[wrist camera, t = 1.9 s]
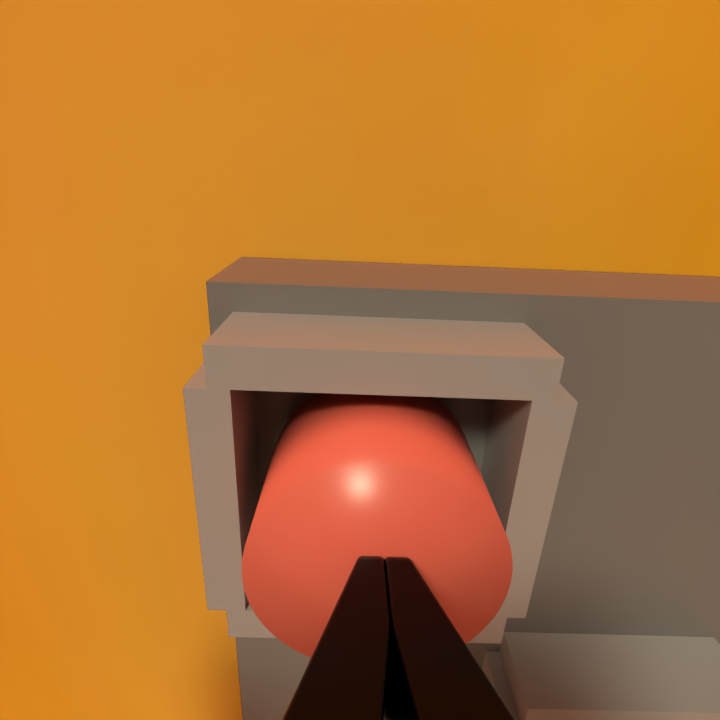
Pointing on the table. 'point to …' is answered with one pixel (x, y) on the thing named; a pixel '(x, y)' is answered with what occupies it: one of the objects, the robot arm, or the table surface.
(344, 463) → the red button
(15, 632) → the table surface
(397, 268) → the control panel
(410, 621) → the robot arm
